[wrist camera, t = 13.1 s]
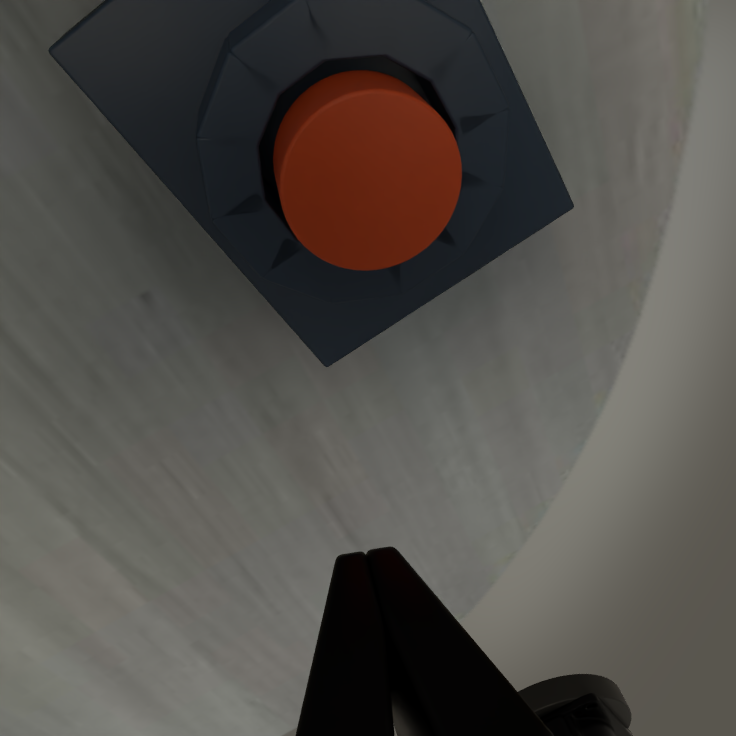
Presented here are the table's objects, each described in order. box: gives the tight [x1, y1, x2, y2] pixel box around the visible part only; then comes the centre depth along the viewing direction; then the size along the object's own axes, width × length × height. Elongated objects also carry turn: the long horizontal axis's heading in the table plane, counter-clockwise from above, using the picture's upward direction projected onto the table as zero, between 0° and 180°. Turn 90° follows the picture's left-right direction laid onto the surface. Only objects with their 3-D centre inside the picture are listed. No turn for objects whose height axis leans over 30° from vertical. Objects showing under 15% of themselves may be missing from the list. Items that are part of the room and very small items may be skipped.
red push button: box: [273, 70, 462, 271], centre depth 14 cm, size 4×4×2 cm
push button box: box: [48, 0, 574, 367], centre depth 16 cm, size 10×8×4 cm
